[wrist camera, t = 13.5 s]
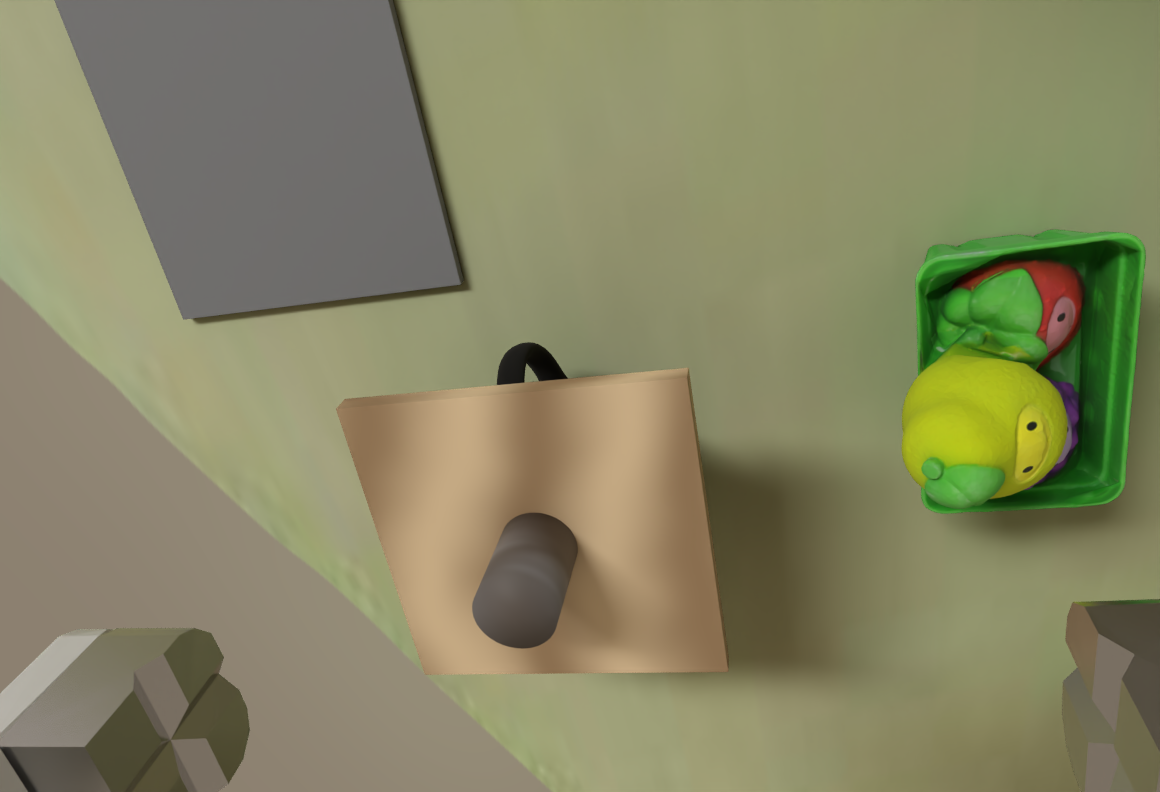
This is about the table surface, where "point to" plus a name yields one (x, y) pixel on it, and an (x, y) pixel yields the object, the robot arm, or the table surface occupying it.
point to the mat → (269, 147)
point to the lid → (546, 524)
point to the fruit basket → (1024, 371)
